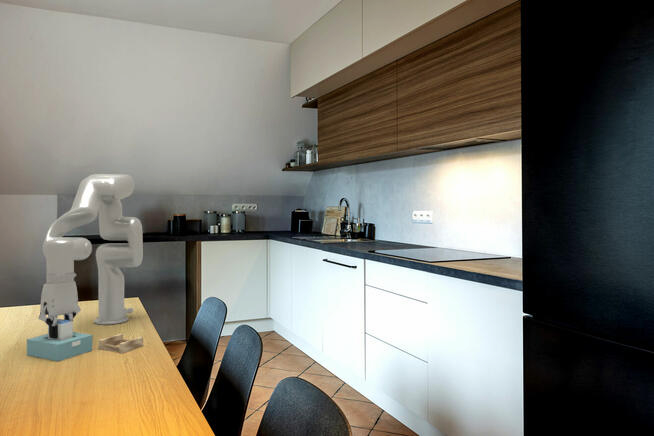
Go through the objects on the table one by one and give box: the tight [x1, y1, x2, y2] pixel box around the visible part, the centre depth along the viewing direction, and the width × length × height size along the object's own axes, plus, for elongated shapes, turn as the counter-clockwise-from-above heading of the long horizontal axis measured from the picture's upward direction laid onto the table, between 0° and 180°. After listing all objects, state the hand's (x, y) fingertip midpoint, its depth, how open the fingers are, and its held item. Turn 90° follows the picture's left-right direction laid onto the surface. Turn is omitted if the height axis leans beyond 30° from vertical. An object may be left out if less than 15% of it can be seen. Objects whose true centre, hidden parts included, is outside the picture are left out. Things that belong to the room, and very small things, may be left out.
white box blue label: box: [47, 318, 74, 341], centre depth 147 cm, size 4×6×8 cm, turn 67°
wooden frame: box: [98, 333, 144, 354], centre depth 153 cm, size 9×10×3 cm
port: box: [26, 331, 93, 362], centre depth 147 cm, size 12×14×5 cm
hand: (60, 335), depth 147 cm, fingers closed on white box blue label, 3 cm apart
